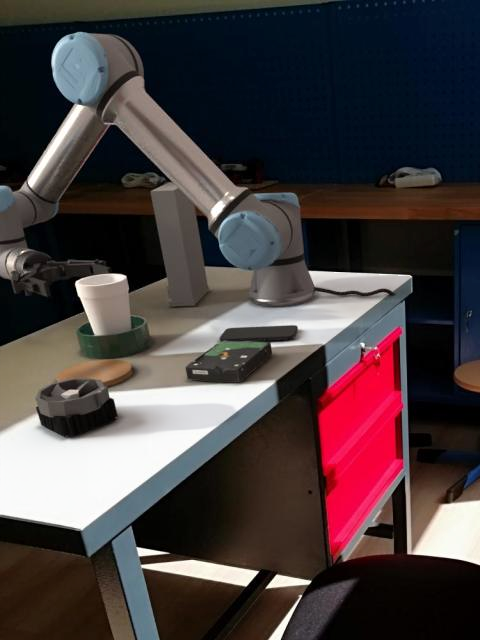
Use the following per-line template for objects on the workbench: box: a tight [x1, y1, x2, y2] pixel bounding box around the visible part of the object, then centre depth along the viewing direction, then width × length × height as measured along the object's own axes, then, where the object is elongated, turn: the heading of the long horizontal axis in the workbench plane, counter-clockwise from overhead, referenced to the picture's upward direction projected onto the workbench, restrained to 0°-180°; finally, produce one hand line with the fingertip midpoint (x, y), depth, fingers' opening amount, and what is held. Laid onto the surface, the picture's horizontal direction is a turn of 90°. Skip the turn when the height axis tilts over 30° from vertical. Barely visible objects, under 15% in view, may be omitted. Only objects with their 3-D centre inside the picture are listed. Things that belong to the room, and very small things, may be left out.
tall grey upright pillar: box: [150, 181, 210, 308], centre depth 175 cm, size 14×6×25 cm, turn 178°
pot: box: [75, 314, 152, 360], centre depth 150 cm, size 13×13×4 cm
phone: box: [219, 324, 299, 343], centre depth 153 cm, size 7×1×15 cm
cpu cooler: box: [34, 378, 119, 438], centre depth 118 cm, size 10×6×10 cm
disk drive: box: [184, 340, 273, 383], centre depth 137 cm, size 10×3×15 cm
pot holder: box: [55, 359, 133, 387], centre depth 137 cm, size 13×13×1 cm
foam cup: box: [74, 273, 132, 335], centre depth 148 cm, size 10×9×13 cm
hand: (80, 282), depth 151 cm, fingers open, 13 cm apart
